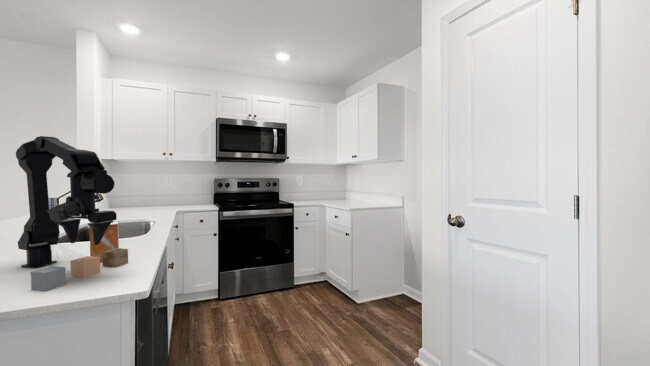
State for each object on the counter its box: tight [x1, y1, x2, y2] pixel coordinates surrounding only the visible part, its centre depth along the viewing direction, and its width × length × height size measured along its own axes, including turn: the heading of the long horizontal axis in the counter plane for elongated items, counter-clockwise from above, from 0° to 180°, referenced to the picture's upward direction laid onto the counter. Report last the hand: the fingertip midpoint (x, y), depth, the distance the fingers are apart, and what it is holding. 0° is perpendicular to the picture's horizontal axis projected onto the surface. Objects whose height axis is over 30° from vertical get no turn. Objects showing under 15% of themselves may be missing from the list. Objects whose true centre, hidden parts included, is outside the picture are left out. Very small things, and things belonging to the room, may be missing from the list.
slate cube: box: [30, 265, 67, 293], centre depth 82 cm, size 5×5×5 cm
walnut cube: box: [102, 247, 129, 269], centre depth 102 cm, size 5×5×5 cm
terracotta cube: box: [69, 255, 101, 279], centre depth 92 cm, size 5×5×5 cm
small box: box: [89, 220, 120, 263], centre depth 108 cm, size 8×6×13 cm
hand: (84, 243), depth 92 cm, fingers open, 9 cm apart
